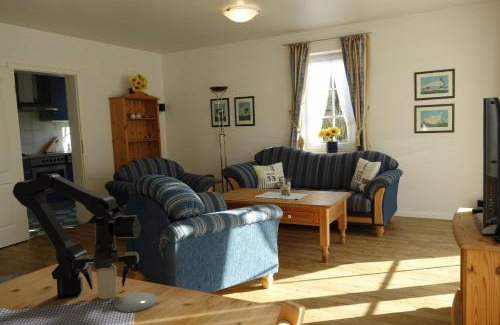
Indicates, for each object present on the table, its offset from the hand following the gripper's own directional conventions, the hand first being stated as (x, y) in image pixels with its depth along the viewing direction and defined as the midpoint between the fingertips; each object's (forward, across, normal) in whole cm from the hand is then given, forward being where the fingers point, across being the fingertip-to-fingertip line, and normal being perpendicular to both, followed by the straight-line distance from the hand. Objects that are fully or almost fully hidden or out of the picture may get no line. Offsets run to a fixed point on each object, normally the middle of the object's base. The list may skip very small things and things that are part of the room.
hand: (107, 287), depth 124 cm
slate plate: (+2, +9, -8) cm, 12 cm away
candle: (+3, 0, 0) cm, 3 cm away
